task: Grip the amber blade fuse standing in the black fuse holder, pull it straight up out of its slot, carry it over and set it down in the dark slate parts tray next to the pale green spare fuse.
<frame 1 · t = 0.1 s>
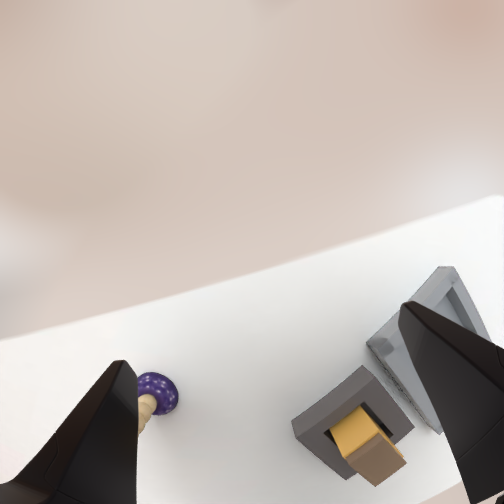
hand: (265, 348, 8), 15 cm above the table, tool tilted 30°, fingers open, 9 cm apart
blown fuse: (352, 422, 22), point 1 cm above the table, touching fuse holder
fuse holder: (350, 419, 23), on the table
parts tray: (437, 353, 23), on the table
toy lamp: (155, 394, 23), on the table
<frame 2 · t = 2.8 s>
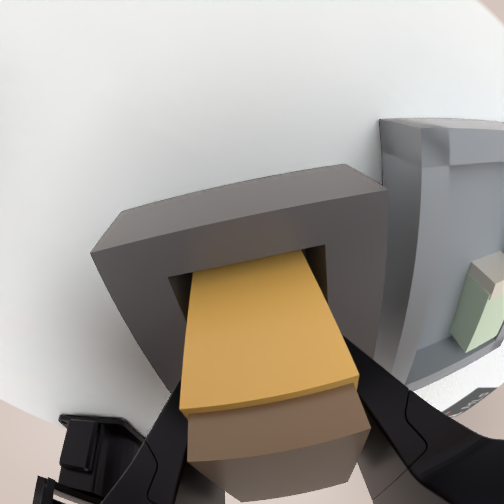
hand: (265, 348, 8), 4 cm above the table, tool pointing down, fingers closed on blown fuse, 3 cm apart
spare fuse: (474, 297, 13), resting on parts tray
blown fuse: (255, 292, 11), point 1 cm above the table, touching fuse holder, gripper
fuse holder: (253, 281, 11), on the table
parts tray: (458, 257, 12), on the table
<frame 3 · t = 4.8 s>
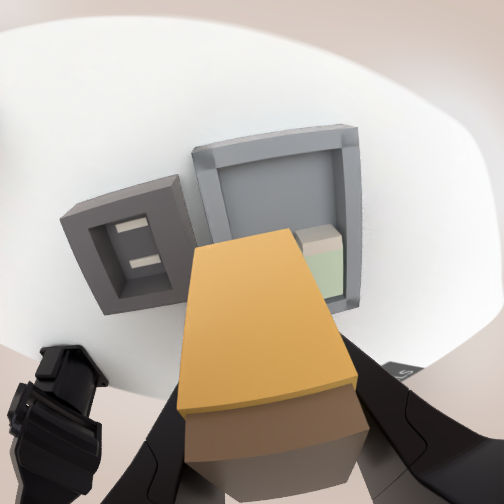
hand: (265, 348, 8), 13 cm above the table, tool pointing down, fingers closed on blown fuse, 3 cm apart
spare fuse: (315, 261, 22), resting on parts tray
blown fuse: (254, 292, 11), point 10 cm above the table, touching gripper
fuse holder: (140, 239, 20), on the table
parts tray: (284, 228, 21), on the table
when the fingers open (5 cm above the table, at t = 7.0 s): blown fuse drops 2 cm, resting on parts tray.
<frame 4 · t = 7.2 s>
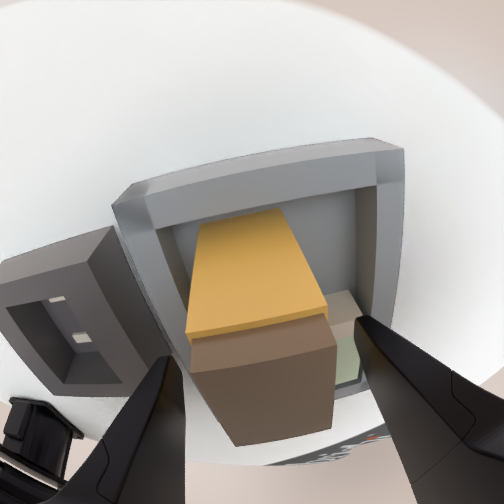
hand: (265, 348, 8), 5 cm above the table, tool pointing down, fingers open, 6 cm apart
spare fuse: (323, 336, 15), resting on parts tray
blown fuse: (250, 264, 13), resting on parts tray
fuse holder: (81, 309, 14), on the table
parts tray: (279, 297, 14), on the table
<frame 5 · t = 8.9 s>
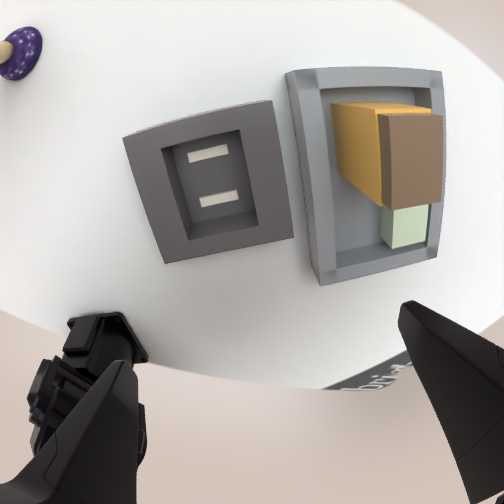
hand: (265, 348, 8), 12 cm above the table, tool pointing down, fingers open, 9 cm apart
spare fuse: (397, 206, 19), resting on parts tray
blown fuse: (357, 135, 17), resting on parts tray
fuse holder: (213, 173, 18), on the table
parts tray: (370, 168, 18), on the table
toy lamp: (20, 57, 12), on the table
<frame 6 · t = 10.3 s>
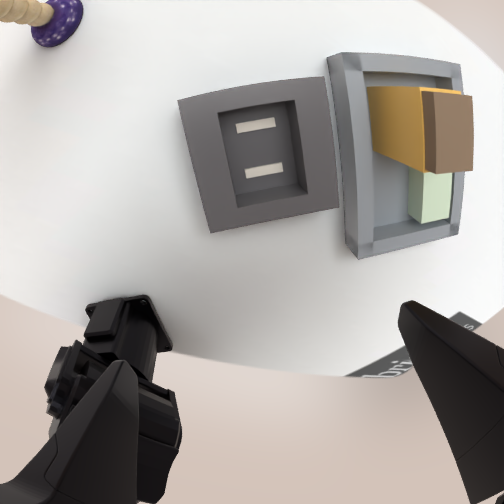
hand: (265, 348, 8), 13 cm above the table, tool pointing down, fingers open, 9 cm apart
spare fuse: (422, 185, 20), resting on parts tray
blown fuse: (389, 117, 17), resting on parts tray
fuse holder: (258, 146, 18), on the table
parts tray: (399, 149, 19), on the table
toy lamp: (56, 25, 12), on the table
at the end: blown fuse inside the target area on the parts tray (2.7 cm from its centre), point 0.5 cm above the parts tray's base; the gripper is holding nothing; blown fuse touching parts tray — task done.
